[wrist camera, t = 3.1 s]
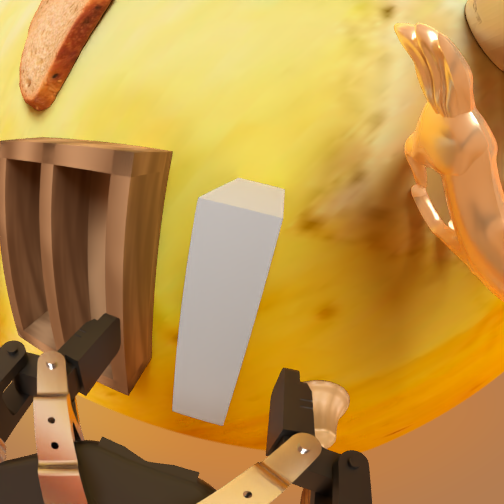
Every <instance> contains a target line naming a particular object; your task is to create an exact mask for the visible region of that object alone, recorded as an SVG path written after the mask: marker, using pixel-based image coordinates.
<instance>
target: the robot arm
mask: <svg viewBox="0 0 504 504" xmlns="http://www.w3.org/2000/svg"><path fill="white" fill-rule="evenodd" d="M465 13H466V18H467V21H468V24H469V27H470V29H471V31H472V33H473V35H474V37H475V39H476V40H477V42H478V44H479V45H480V47H481V48H482V50H483V51H484V52H485V54H486V55H487V56H488V57H489V58H490V60H491V61H492V62H493V63H494V64H495V65H496V66H497V67H498V68H500V69H501V70H502V71H503V72H504V0H468V1H467V3H466V7H465ZM120 345H121V329H120V319H119V318H117V317H115V316H112V315H110V314H107V313H105V314H103V315H102V316H101V317H100V318H99V319H98V320H96V319H93V320H90V321H88V322H86V323H85V324H84V325H83V326H82V327H81V328H80V329H79V330H78V331H77V332H76V333H75V334H74V335H72V336H71V337H70V339H69V340H68V341H67V342H66V343H65V344H64V345H63V346H62V347H61V348H60V349H59V350H58V351H57V352H56V351H47V352H45V353H43V354H41V355H40V356H39V355H35V354H31V353H28V352H26V350H25V347H24V345H23V344H22V343H21V342H19V341H9V342H7V343H5V344H4V345H3V346H2V347H1V348H0V504H269V503H270V502H272V501H273V500H274V499H275V498H276V497H277V496H279V495H280V494H281V493H282V492H283V491H284V490H285V489H286V488H287V487H288V486H289V485H290V484H291V483H292V484H295V485H298V486H300V487H303V488H306V489H308V490H311V495H310V504H372V497H371V484H370V472H369V463H368V460H367V458H366V457H365V456H364V455H363V454H362V453H360V452H358V451H353V450H350V451H346V452H344V453H343V454H338V453H335V452H333V451H330V450H327V449H325V448H324V447H322V446H321V444H320V442H319V440H318V439H317V438H316V437H315V428H314V412H313V402H312V401H313V398H312V391H311V389H310V387H309V385H308V384H307V383H303V382H300V373H299V371H298V370H293V369H288V368H283V369H282V371H281V373H280V375H279V377H278V380H277V382H276V384H275V386H274V389H273V392H272V395H271V401H270V413H269V425H268V437H267V447H266V456H268V457H267V458H266V459H265V460H263V461H262V462H260V463H259V462H258V463H256V464H254V465H253V466H252V467H250V468H249V469H248V470H246V471H245V472H244V473H242V474H241V475H239V476H238V477H237V478H235V479H234V480H232V481H231V482H230V483H228V484H227V485H225V486H224V487H222V488H221V489H219V490H218V491H216V490H215V489H214V488H213V487H212V486H210V485H209V484H207V483H206V482H205V481H203V480H201V479H199V478H198V475H199V472H195V471H192V470H188V469H185V468H181V467H178V466H175V465H167V464H160V463H153V462H147V461H145V460H143V459H142V458H140V457H138V456H137V455H136V454H134V453H133V452H131V451H130V450H128V449H127V448H126V447H124V446H122V445H119V444H117V443H115V442H113V441H111V440H108V439H106V438H104V437H102V438H101V440H100V442H99V441H92V440H91V441H90V440H84V437H83V434H82V431H81V426H80V420H79V415H78V409H77V402H76V397H75V396H76V395H77V394H78V392H80V393H82V394H84V395H85V396H86V395H87V394H88V392H89V391H90V390H91V388H92V387H93V386H94V384H95V383H96V381H97V380H98V379H99V377H100V376H101V375H102V373H103V372H104V371H105V369H106V368H107V366H108V365H109V364H110V362H111V361H112V360H113V358H114V357H115V356H116V354H117V353H118V351H119V349H120ZM11 381H12V383H11V384H10V382H11ZM9 384H10V385H9ZM8 385H9V386H8ZM7 386H8V388H7V389H6V390H5V391H4V389H5V388H6V387H7ZM3 391H4V392H3ZM32 402H33V405H34V425H35V437H36V446H37V453H36V454H32V455H29V456H24V457H20V458H16V459H12V460H7V461H4V460H5V459H6V455H5V454H6V446H5V442H6V440H7V439H8V437H9V435H10V434H11V432H12V431H13V429H14V428H15V426H16V425H17V423H18V422H19V420H20V419H21V418H22V416H23V415H24V413H25V412H26V410H27V409H28V407H29V406H30V405H31V403H32Z"/></svg>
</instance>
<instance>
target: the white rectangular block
mask: <svg viewBox="0 0 504 504" xmlns="http://www.w3.org/2000/svg"><path fill="white" fill-rule="evenodd" d="M284 192H285V189H282V188H278V187H274V186H270V185H266V184H262V183H258V182H254V181H250V180H245V179H241V178H237V179H235V180H233V181H231V182H229V183H227V184H225V185H223V186H221V187H219V188H216V189H214V190H212V191H210V192H208V193H206V194H204V195H202V196H201V197H199V198H198V202H197V207H196V213H195V219H194V224H193V230H192V236H191V243H190V249H189V256H188V262H187V269H186V276H185V283H184V291H183V299H182V307H181V315H180V324H179V333H178V343H177V353H176V365H175V377H174V390H173V406H172V411H174V412H177V413H180V414H183V415H186V416H189V417H193V418H196V419H199V420H203V421H206V422H210V423H214V424H217V425H221V426H223V424H224V421H225V418H226V415H227V411H228V408H229V405H230V402H231V398H232V395H233V392H234V389H235V385H236V382H237V379H238V375H239V372H240V369H241V365H242V362H243V359H244V355H245V352H246V349H247V345H248V342H249V338H250V335H251V331H252V328H253V325H254V321H255V318H256V314H257V311H258V307H259V304H260V300H261V297H262V293H263V290H264V286H265V282H266V279H267V275H268V272H269V268H270V264H271V261H272V257H273V253H274V250H275V246H276V242H277V239H278V235H279V231H280V228H281V224H282V220H283V209H284Z"/></svg>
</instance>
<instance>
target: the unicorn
mask: <svg viewBox="0 0 504 504" xmlns="http://www.w3.org/2000/svg"><path fill="white" fill-rule="evenodd" d="M394 30H395V32H396V34H397V36H398V38H399V40H400V42H401V44H402V45H403V47H404V48H405V50H406V51H407V52H408V54H409V55H410V57H411V58H412V60H413V61H414V64H415V69H416V73H417V77H418V80H419V83H420V85H421V88H422V90H423V93H424V95H425V97H426V99H427V100H428V101H427V102H426V104H425V106H424V108H423V110H422V112H421V115H420V117H419V120H418V123H417V126H416V130H415V132H413V133H412V134H411V135H410V136H409V137H408V139H407V140H406V143H405V146H404V153H405V156H406V159H407V161H408V164H409V166H410V168H411V171H412V173H413V176H414V179H415V182H416V184H417V185H413V186H412V188H411V194H412V197H413V199H414V201H415V204H416V206H417V208H418V210H419V212H420V214H421V215H422V217H423V219H424V220H425V222H426V224H427V225H428V227H429V228H430V230H431V231H432V232H433V233H434V234H435V235H436V236H437V237H438V238H439V239H440V240H441V241H442V242H443V243H444V244H445V245H446V246H447V247H448V248H449V249H450V250H451V251H452V252H453V253H454V254H455V255H457V256H458V257H459V258H460V259H461V260H462V261H463V262H464V263H465V264H466V265H467V266H468V268H469V269H470V271H471V272H472V273H473V274H474V275H475V276H477V277H478V278H479V280H480V281H481V282H482V283H483V284H484V285H485V286H486V287H487V288H488V289H489V290H490V291H491V292H492V293H493V294H494V295H495V296H497V297H498V298H499V299H500V300H502V301H503V302H504V193H503V189H502V186H501V182H500V178H499V174H498V168H497V162H496V156H497V152H498V147H497V143H496V140H495V137H494V135H493V133H492V131H491V129H490V127H489V126H488V124H487V122H486V121H485V119H484V118H483V116H482V115H481V114H480V112H479V111H478V110H477V109H476V105H475V101H474V95H473V75H472V72H471V69H470V67H469V65H468V63H467V61H466V60H465V58H464V56H463V55H462V54H461V52H460V51H459V49H458V48H457V47H456V46H455V44H454V43H453V42H452V41H451V40H450V39H449V38H448V37H447V36H446V35H444V34H443V33H441V32H438V31H437V30H436V29H434V28H433V27H431V26H429V25H427V24H423V23H416V25H413V24H409V23H397V24H395V25H394ZM425 166H426V167H429V168H433V169H434V170H435V171H436V172H438V173H439V174H440V175H441V177H442V182H443V187H444V192H445V197H446V201H447V206H448V210H449V214H450V217H451V220H450V221H449V223H448V224H449V226H447V225H446V224H445V223H444V222H443V220H442V219H441V217H440V216H439V214H438V213H437V211H436V209H435V208H434V206H433V204H432V202H431V200H430V198H429V196H428V194H427V191H426V189H425V188H426V186H427V175H426V167H425Z"/></svg>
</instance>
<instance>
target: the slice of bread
mask: <svg viewBox="0 0 504 504" xmlns="http://www.w3.org/2000/svg"><path fill="white" fill-rule="evenodd" d="M110 2H111V0H42V1H41V3H40V6H39V8H38V10H37V11H36V13H35V15H34V17H33V20H32V21H31V24H30V27H29V31H28V37H27V40H26V43H25V47H24V50H23V53H22V58H21V63H20V83H19V86H20V90H21V93H22V96H23V98H24V100H25V102H26V103H27V104H29V105H30V106H32V107H33V108H34V109H36V110H39V111H41V110H44V109H47V108H48V107H50V105H51V104H52V103H53V101H54V100H55V98H56V96H57V93H58V92H59V90H60V89H61V87H62V85H63V83H64V81H65V80H66V78H67V77H68V75H69V73H70V71H71V69H72V67H73V65H74V63H75V62H76V60H77V59H78V57H79V54H80V52H81V50H82V48H83V46H84V45H85V43H86V42H87V40H88V38H89V36H90V34H91V33H92V31H93V30H94V28H95V27H96V25H97V24H98V22H99V20H100V18H101V17H102V15H103V13H104V12H105V10H106V9H107V8H108V6H109V4H110Z"/></svg>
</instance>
